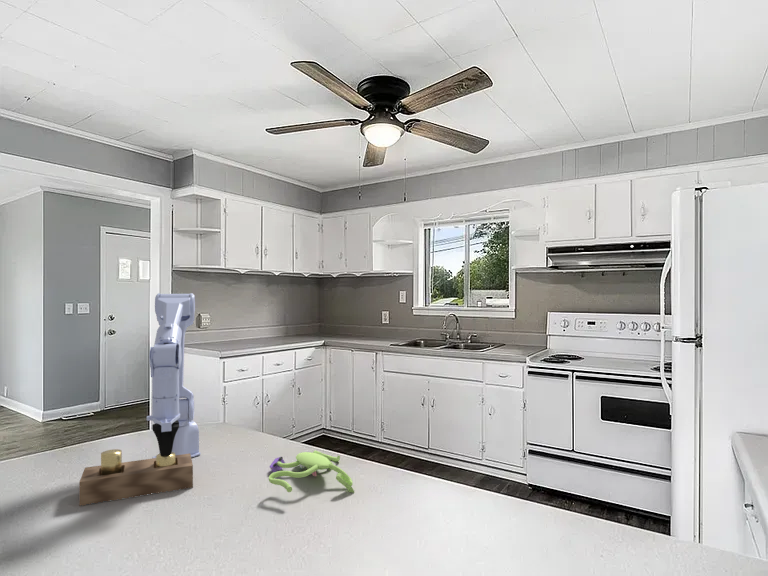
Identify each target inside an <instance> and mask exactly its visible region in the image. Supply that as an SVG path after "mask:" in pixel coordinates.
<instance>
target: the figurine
mask: <svg viewBox="0 0 768 576" xmlns="http://www.w3.org/2000/svg"><path fill="white" fill-rule="evenodd" d="M295 459H296V461H293V462H285V460H284V459H283V456H280V457H276V458H274V460H273V461H272V462H271V464H270V465H269V468H270V470H271V471H272V473H270V475H269V476H268V482H269V483H271V485H275V486H280V487H282V488H284V489H285V490H286V492H288V493H291V492H292V491H293V487H292V485H290V483H288V482H287V481H286V480H284V479H279V477H280V478H281V477H291V478H305V477H308V476H309V475H312V476H313V477H317V470H318V471H319V470H320V471H323V470H327V469H329V470H332V471H334V472H336V476H335V480H337V482H338V483H340V484H341V485H342V486H344V487H345V488H346V489H347V491H348V493H355V490H354V488H353V487H352V486H353V483H354V482H353V480H352V478H351V477H350V476H349V475H348V473H346V471H345V470H343V469H342V468H340V467H339V466H337V465H335V464H334V463H333V462H339V461H340V459H341V456H340V455H337V456H332V455H329V454H325V453H323V452H321V451H318V450H313V452H309V451H303V452H299V453H297V454H296V456H295ZM331 460H332V461H331ZM298 466H299V468H300V469H305V468H306V470H303V471H300V472H299V471H298V472H297V471H296V472H295V471H290V470H282V469H291V468H296V467H298Z"/></svg>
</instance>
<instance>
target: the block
mask: <svg viewBox="0 0 768 576" xmlns="http://www.w3.org/2000/svg"><path fill="white" fill-rule="evenodd" d="M193 487H194V465H193V460H192V457H191V454H190V453H189V454H182V455H175V465H172V466H165V467H158V468H156V458H152V457H151V458H146V459H139V460H131V461H124V462H123V461H122V473H116V474H109V475H102V476H101V464H100V465H95V466H87V467H84V468H83V472H82V475H81V476H80V480H79V488H78V489H79V492H78V493H79V495H78V496H79V498H78V499H79V501H78V503H79V505H78V506H79V507H81V505H82V506H87V505H86V504H89V505H92V504H91V503H95V504H99V503H98V502H101V503H104V502H103V501H107V502H111V501H110V500H113V501H118V500H117V499H119V500H123V499H122V498H125V499H130V498H129V497H132V498H136V497H135V496H138V497H141V496H140V495H144V496H148V495H147V494H150V495H152V494H151V493H156V494H161V493H160V492H162V493H167V492H166V491H168V492H174V491H173V490H175V491H179V489H181V490H186V489H191V488H192V489H193ZM158 492H159V493H158Z"/></svg>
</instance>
